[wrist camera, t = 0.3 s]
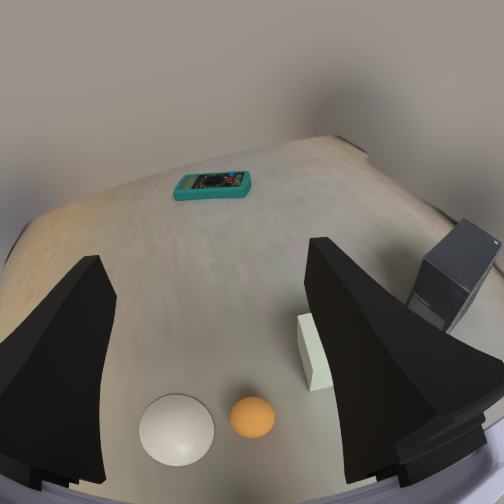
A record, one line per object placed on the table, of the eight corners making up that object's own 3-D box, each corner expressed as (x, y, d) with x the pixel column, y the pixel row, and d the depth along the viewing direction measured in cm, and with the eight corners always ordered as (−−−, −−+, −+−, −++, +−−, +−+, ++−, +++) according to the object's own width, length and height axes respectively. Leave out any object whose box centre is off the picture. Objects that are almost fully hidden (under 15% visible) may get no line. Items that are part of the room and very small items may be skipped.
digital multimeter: (248, 200, 53) (246, 186, 51) (174, 203, 56) (170, 190, 54) (253, 181, 58) (251, 168, 56) (186, 184, 61) (182, 173, 59)
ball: (279, 437, 23) (277, 429, 20) (237, 443, 22) (228, 436, 20) (272, 400, 26) (269, 387, 23) (232, 407, 25) (223, 394, 23)
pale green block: (386, 369, 26) (402, 344, 22) (309, 391, 26) (313, 370, 22) (369, 326, 30) (379, 296, 26) (297, 343, 30) (297, 315, 26)
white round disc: (218, 464, 21) (217, 464, 21) (140, 465, 21) (139, 464, 21) (210, 391, 27) (210, 391, 27) (140, 397, 27) (139, 396, 27)
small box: (439, 275, 34) (463, 214, 27) (472, 302, 29) (505, 243, 22) (395, 318, 30) (421, 253, 23) (433, 353, 26) (474, 294, 19)
